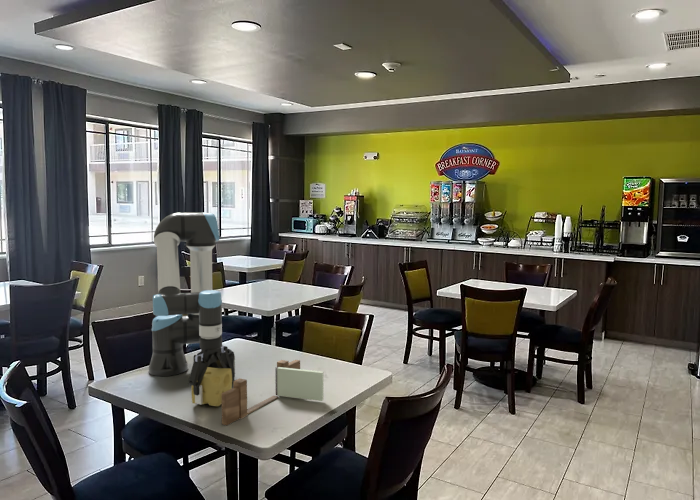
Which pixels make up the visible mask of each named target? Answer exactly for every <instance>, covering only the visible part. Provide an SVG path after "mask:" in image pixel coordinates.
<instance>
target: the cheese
mask: <svg viewBox="0 0 700 500" xmlns="http://www.w3.org/2000/svg"><path fill="white" fill-rule="evenodd" d="M197 382H198V381H197ZM200 385H202V401H203V404H202V405H206V404H208V405H209V406H212V407H220V406H222V397H221V393H223V392H225V391H228V390H230V389H232V388H233V382H232V371H231V369H230V368H211V367H207V370H206V372H205V374H204V377H203V379H202V382H201V384H200ZM190 386H191V390H190V391H191V402H192V404H196V405H197V403H195V395H194V387H193V386H192V385H190Z"/></svg>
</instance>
